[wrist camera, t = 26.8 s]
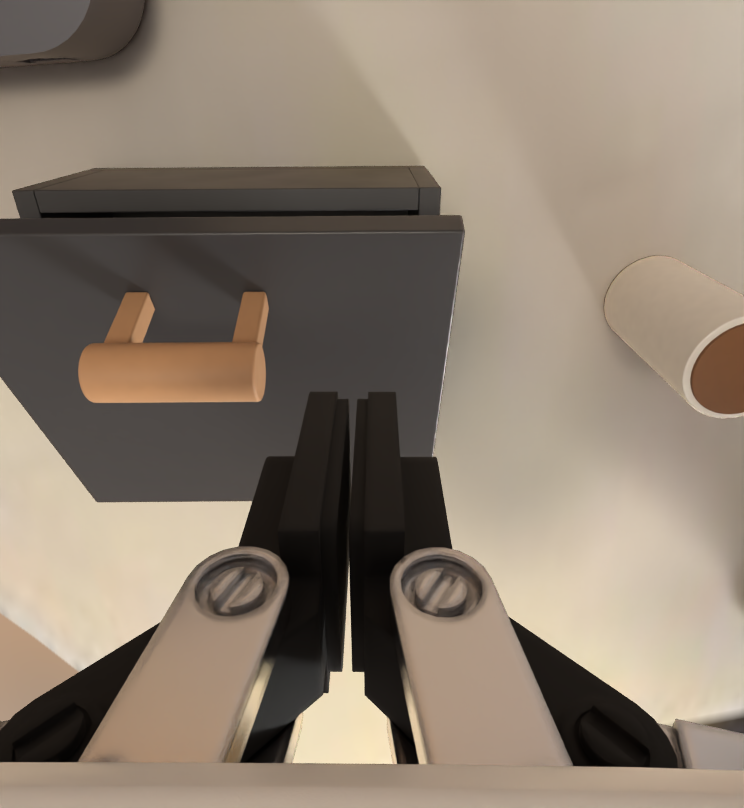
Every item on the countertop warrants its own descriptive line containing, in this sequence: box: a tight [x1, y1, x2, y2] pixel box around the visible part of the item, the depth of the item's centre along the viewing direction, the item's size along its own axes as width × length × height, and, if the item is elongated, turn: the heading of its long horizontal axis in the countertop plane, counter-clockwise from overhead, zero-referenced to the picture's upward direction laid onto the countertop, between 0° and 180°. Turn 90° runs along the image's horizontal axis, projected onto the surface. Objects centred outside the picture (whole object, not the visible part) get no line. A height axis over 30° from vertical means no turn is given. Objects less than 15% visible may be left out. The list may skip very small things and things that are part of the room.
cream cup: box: [604, 256, 744, 418], centre depth 25 cm, size 5×5×9 cm
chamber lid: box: [0, 215, 465, 502], centre depth 20 cm, size 14×16×5 cm
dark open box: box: [12, 166, 441, 219], centre depth 26 cm, size 14×16×7 cm
